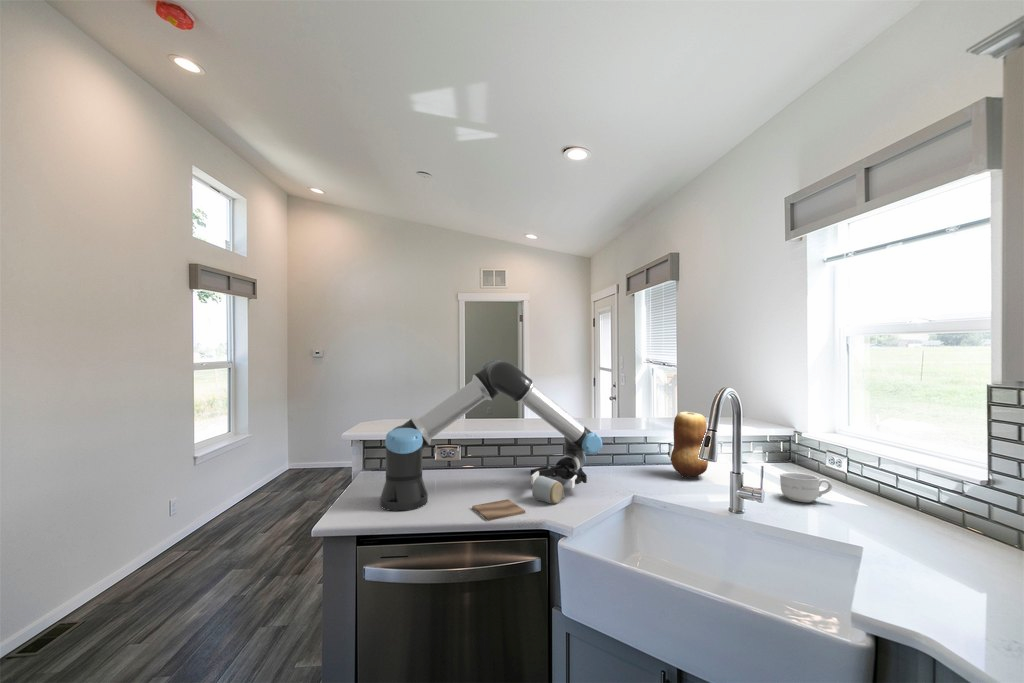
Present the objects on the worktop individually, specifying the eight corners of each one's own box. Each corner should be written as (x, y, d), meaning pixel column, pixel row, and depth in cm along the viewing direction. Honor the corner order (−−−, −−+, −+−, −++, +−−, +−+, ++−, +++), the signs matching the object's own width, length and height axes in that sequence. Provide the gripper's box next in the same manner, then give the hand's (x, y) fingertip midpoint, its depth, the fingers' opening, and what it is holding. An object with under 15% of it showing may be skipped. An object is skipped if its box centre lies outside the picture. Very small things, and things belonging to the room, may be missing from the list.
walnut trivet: (472, 508, 135) (472, 505, 135) (508, 501, 141) (508, 499, 141) (487, 520, 125) (487, 517, 125) (525, 513, 130) (525, 510, 130)
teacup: (776, 500, 140) (776, 475, 140) (784, 492, 148) (783, 468, 148) (829, 510, 130) (828, 483, 131) (834, 501, 138) (833, 476, 139)
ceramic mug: (551, 507, 135) (551, 482, 136) (531, 501, 141) (531, 477, 141) (570, 499, 143) (570, 476, 143) (551, 494, 149) (551, 471, 149)
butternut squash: (708, 483, 158) (706, 415, 159) (669, 479, 164) (668, 413, 165) (708, 474, 171) (707, 410, 171) (672, 470, 176) (671, 409, 177)
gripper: (601, 480, 157) (588, 498, 138) (536, 473, 167) (516, 489, 147) (600, 459, 158) (588, 474, 138) (536, 454, 167) (516, 467, 147)
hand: (551, 482), depth 143 cm, fingers open, 13 cm apart
